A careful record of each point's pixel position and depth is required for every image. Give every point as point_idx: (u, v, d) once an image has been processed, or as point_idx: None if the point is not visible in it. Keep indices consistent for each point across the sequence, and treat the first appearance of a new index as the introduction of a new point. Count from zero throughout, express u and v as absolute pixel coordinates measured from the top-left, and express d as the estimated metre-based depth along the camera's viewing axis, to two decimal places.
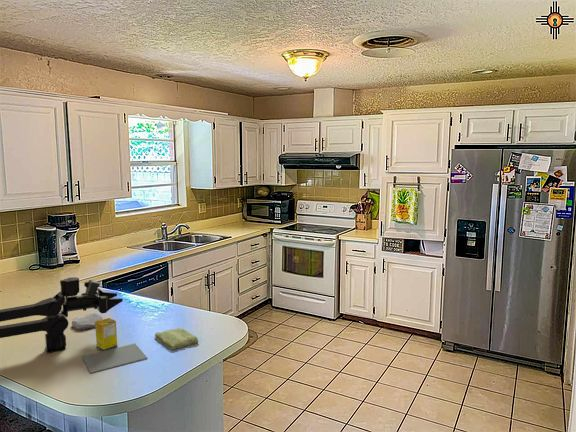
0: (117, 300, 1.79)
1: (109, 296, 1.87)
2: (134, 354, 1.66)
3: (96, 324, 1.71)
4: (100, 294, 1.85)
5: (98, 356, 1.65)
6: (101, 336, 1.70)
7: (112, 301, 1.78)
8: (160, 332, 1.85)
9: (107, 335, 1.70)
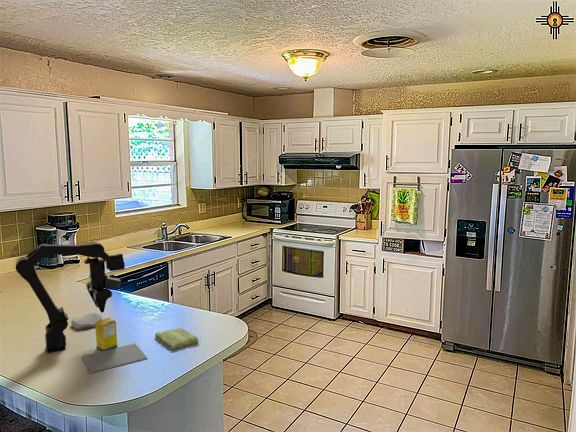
0: (103, 307, 1.75)
1: None
2: (134, 354, 1.66)
3: (96, 324, 1.71)
4: None
5: (98, 356, 1.65)
6: (101, 336, 1.70)
7: (103, 302, 1.75)
8: (160, 332, 1.85)
9: (107, 335, 1.70)
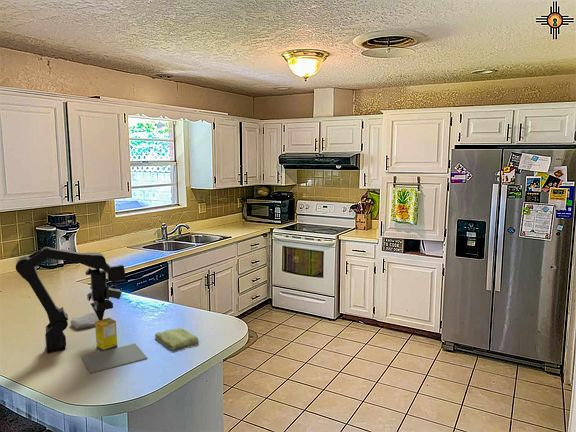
0: (101, 315, 1.79)
1: None
2: (134, 354, 1.66)
3: (96, 324, 1.71)
4: None
5: (98, 356, 1.65)
6: (101, 336, 1.70)
7: (101, 311, 1.78)
8: (161, 332, 1.85)
9: (107, 335, 1.70)
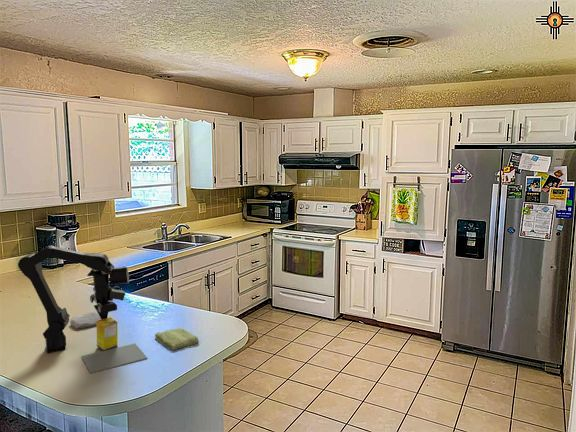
0: (105, 317, 1.75)
1: None
2: (134, 354, 1.66)
3: (97, 324, 1.71)
4: None
5: (98, 356, 1.65)
6: (101, 336, 1.69)
7: (105, 313, 1.74)
8: (161, 332, 1.85)
9: (108, 336, 1.70)
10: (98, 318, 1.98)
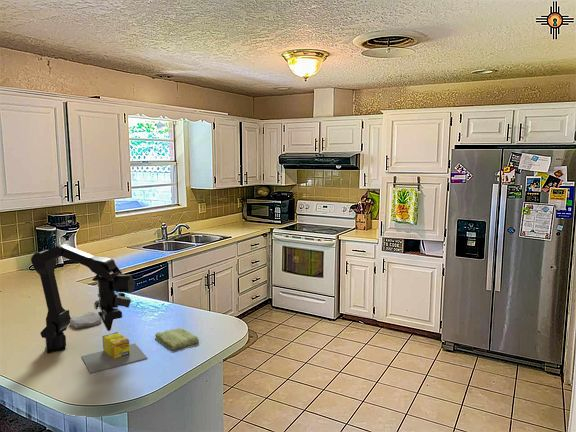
0: (110, 325, 1.68)
1: None
2: (134, 354, 1.66)
3: (113, 346, 1.62)
4: None
5: (98, 356, 1.65)
6: (109, 352, 1.66)
7: (110, 320, 1.67)
8: (161, 332, 1.85)
9: None
10: (97, 318, 1.99)
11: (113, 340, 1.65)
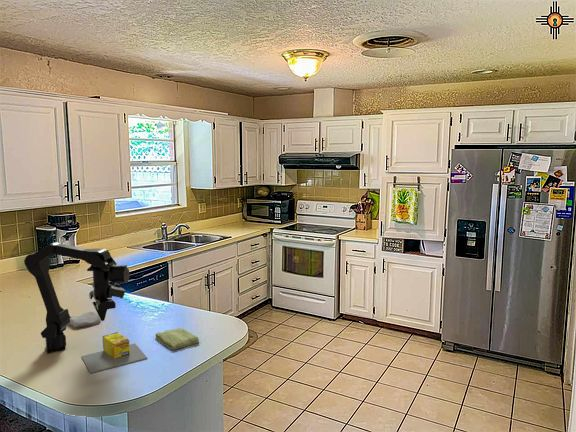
0: (103, 315, 1.69)
1: None
2: (134, 354, 1.66)
3: (113, 346, 1.62)
4: None
5: (98, 356, 1.65)
6: (109, 352, 1.66)
7: (104, 310, 1.69)
8: (161, 332, 1.84)
9: None
10: (97, 317, 2.00)
11: (113, 340, 1.65)
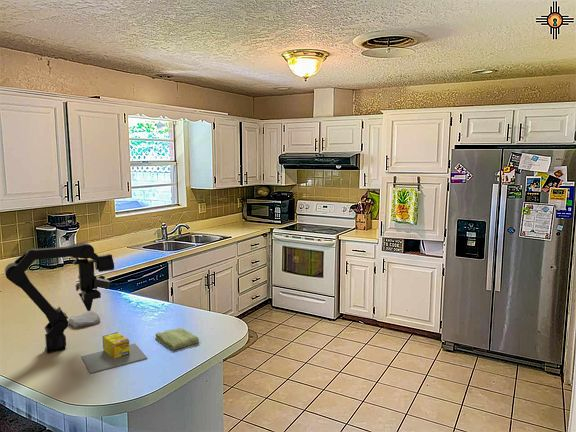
0: (90, 306, 1.77)
1: None
2: (134, 354, 1.66)
3: (113, 346, 1.62)
4: None
5: (98, 356, 1.65)
6: (109, 352, 1.66)
7: (89, 301, 1.77)
8: None
9: None
10: (96, 317, 2.00)
11: (113, 340, 1.65)
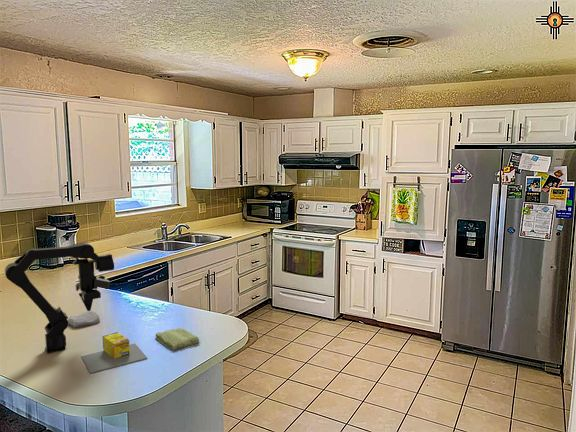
0: (90, 305, 1.77)
1: None
2: (134, 354, 1.66)
3: (113, 346, 1.62)
4: None
5: (98, 356, 1.65)
6: (109, 352, 1.66)
7: (89, 301, 1.77)
8: (161, 332, 1.84)
9: None
10: (96, 316, 2.00)
11: (113, 340, 1.65)
